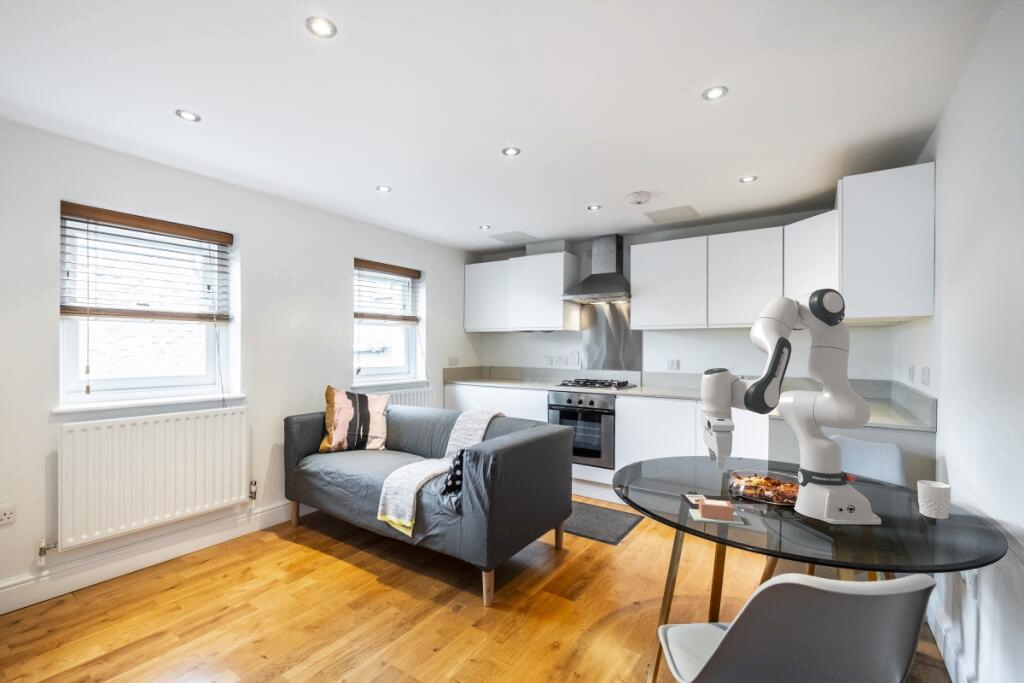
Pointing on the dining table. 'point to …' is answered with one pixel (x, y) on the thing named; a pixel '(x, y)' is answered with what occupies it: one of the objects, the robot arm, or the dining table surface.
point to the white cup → (934, 499)
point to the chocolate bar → (694, 500)
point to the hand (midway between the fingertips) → (716, 464)
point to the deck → (716, 509)
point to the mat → (697, 517)
